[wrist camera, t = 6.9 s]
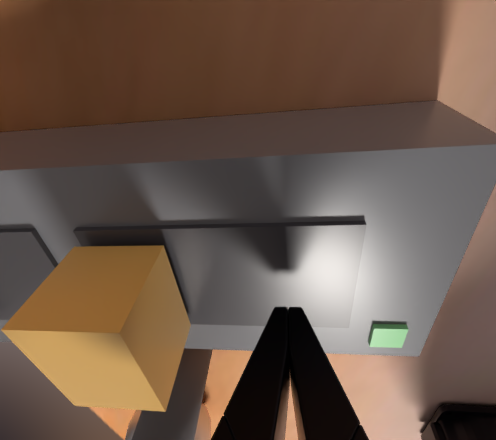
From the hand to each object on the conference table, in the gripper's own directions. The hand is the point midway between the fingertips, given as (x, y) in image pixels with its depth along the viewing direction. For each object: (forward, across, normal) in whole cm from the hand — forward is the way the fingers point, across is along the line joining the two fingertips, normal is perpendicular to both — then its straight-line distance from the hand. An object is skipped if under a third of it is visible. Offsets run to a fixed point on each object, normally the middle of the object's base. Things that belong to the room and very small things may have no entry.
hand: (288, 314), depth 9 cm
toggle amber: (+1, +5, 0) cm, 5 cm away
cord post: (+5, +7, +10) cm, 13 cm away
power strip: (+5, +5, 0) cm, 7 cm away
